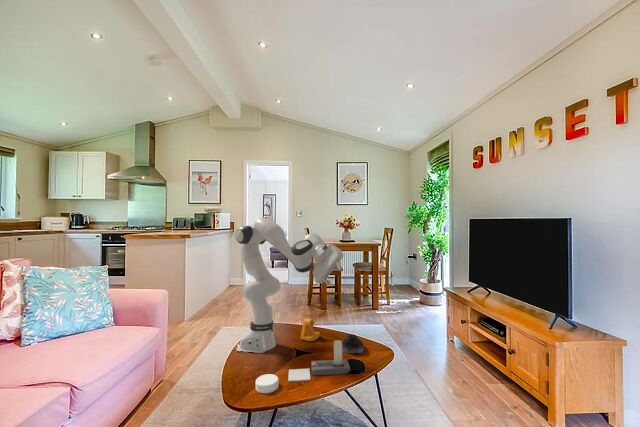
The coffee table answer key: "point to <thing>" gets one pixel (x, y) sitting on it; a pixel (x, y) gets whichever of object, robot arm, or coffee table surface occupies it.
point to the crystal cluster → (352, 344)
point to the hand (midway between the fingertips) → (334, 276)
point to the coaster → (267, 383)
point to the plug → (338, 354)
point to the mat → (299, 375)
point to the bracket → (309, 330)
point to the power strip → (328, 367)
